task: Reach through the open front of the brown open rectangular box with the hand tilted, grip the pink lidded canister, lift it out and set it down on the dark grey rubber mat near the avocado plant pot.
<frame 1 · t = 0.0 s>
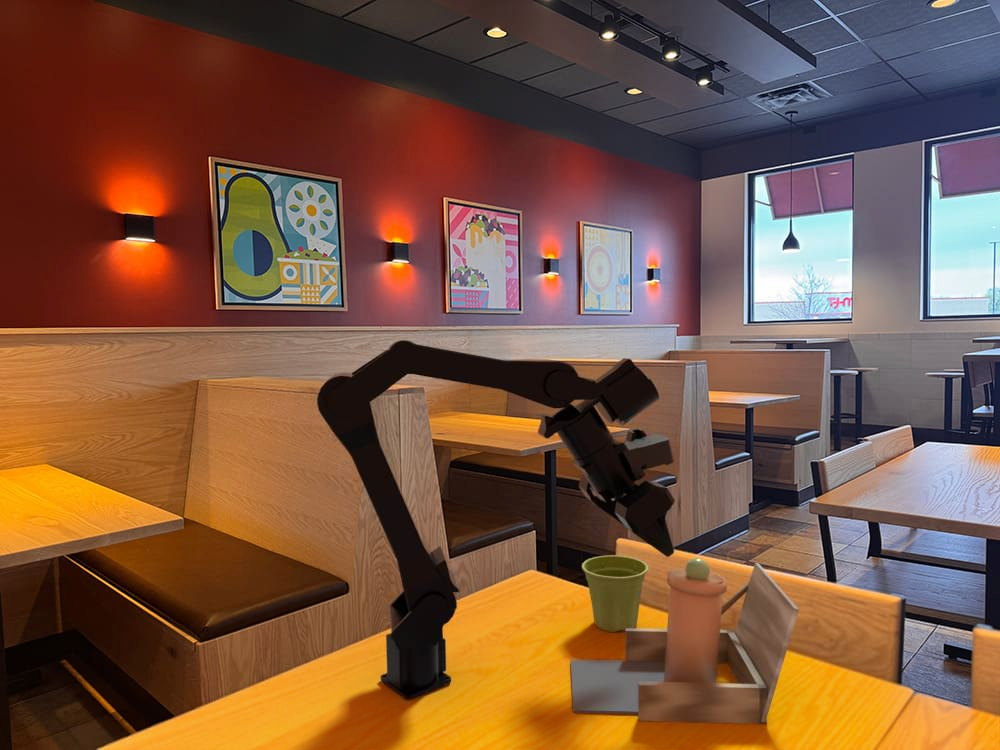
hand: (655, 543, 91), 15 cm above the table, tool tilted 35°, fingers open, 9 cm apart
brown open rectangular box: (689, 688, 83), on the table
plant pot: (615, 625, 102), on the table
mat: (622, 686, 84), on the table
pink lidded canister: (689, 685, 83), on the table, tilted 6°, touching mat
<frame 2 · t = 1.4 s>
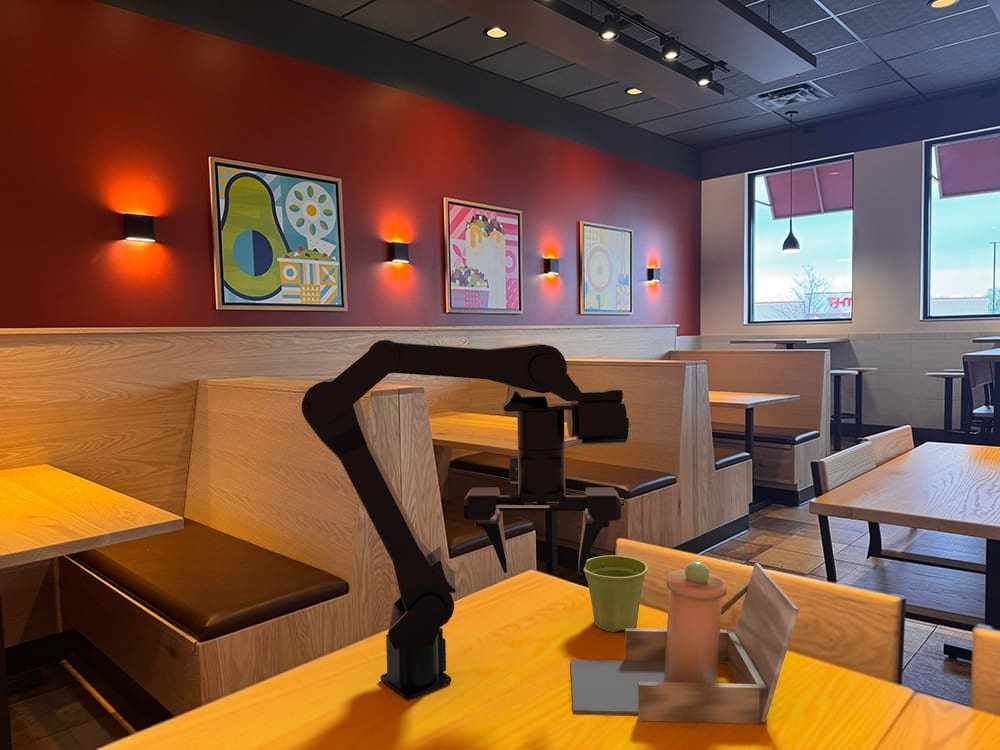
hand: (543, 572, 86), 13 cm above the table, tool pointing down, fingers open, 9 cm apart
nothing on the table moved.
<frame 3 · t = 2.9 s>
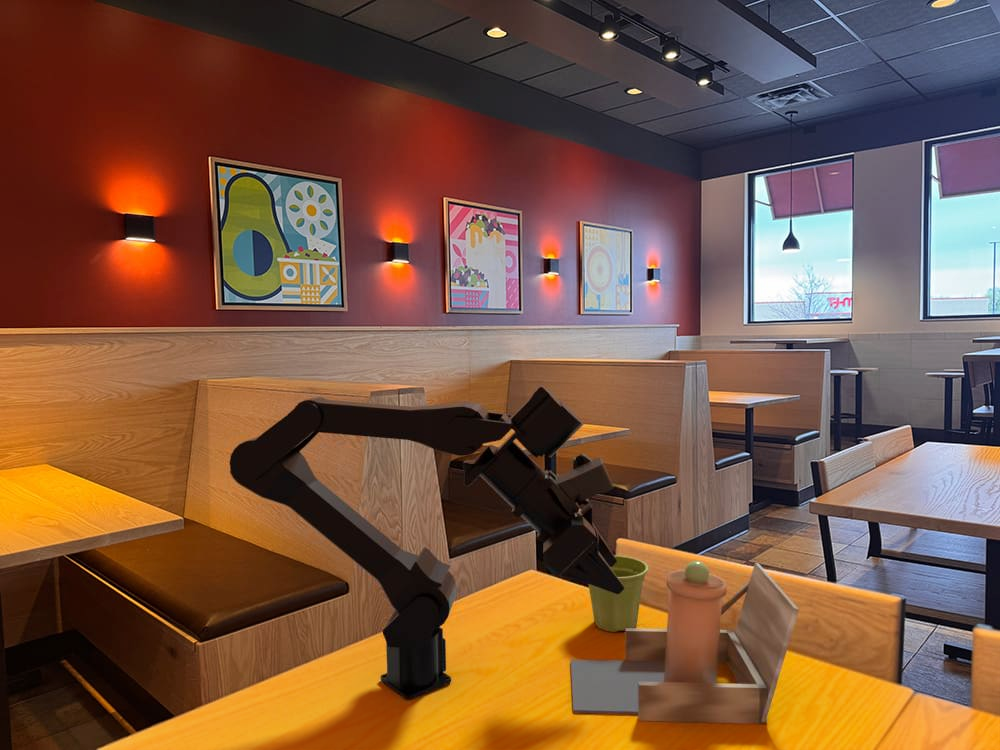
hand: (617, 576, 83), 13 cm above the table, tool tilted 45°, fingers open, 9 cm apart
nothing on the table moved.
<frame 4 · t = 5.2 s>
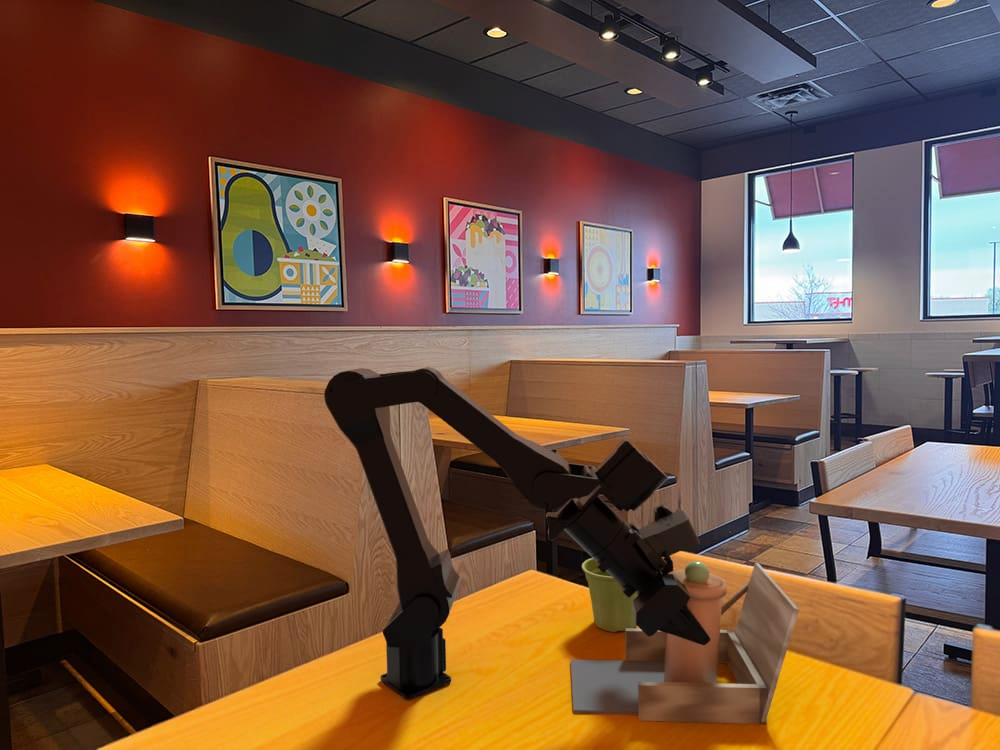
hand: (701, 630, 83), 7 cm above the table, tool tilted 45°, fingers closed on pink lidded canister, 6 cm apart
pink lidded canister: (689, 686, 83), on the table, touching gripper, mat
everything else where it was.
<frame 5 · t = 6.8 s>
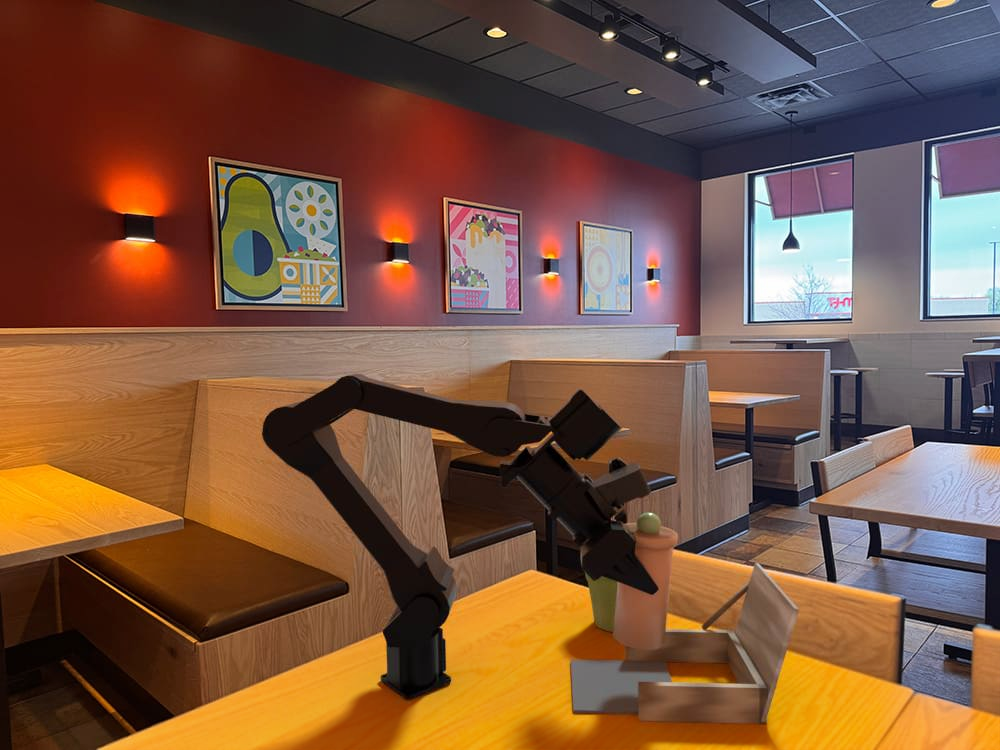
hand: (651, 581, 83), 13 cm above the table, tool tilted 45°, fingers closed on pink lidded canister, 6 cm apart
pink lidded canister: (638, 638, 83), point 6 cm above the table, tilted 5°, touching gripper
everything else where it was.
when the fingers open (8 cm above the table, at t = 8.4 s): pink lidded canister drops 1 cm, resting on mat.
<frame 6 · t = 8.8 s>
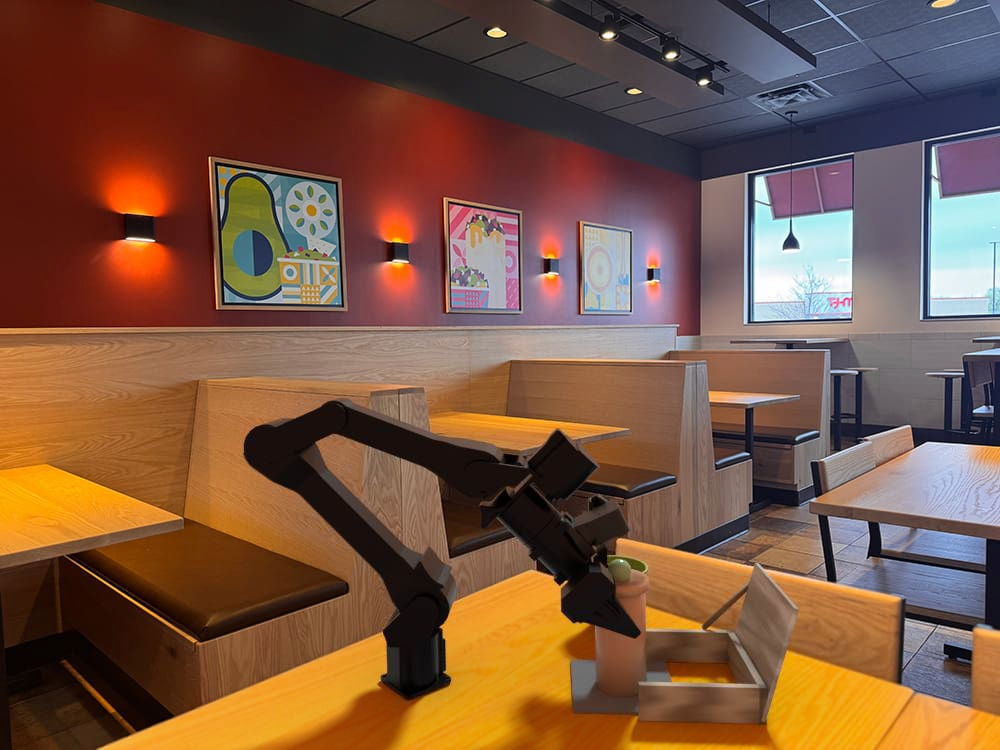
hand: (633, 618, 83), 8 cm above the table, tool tilted 45°, fingers open, 9 cm apart
pink lidded canister: (621, 683, 84), resting on mat
everything else where it was.
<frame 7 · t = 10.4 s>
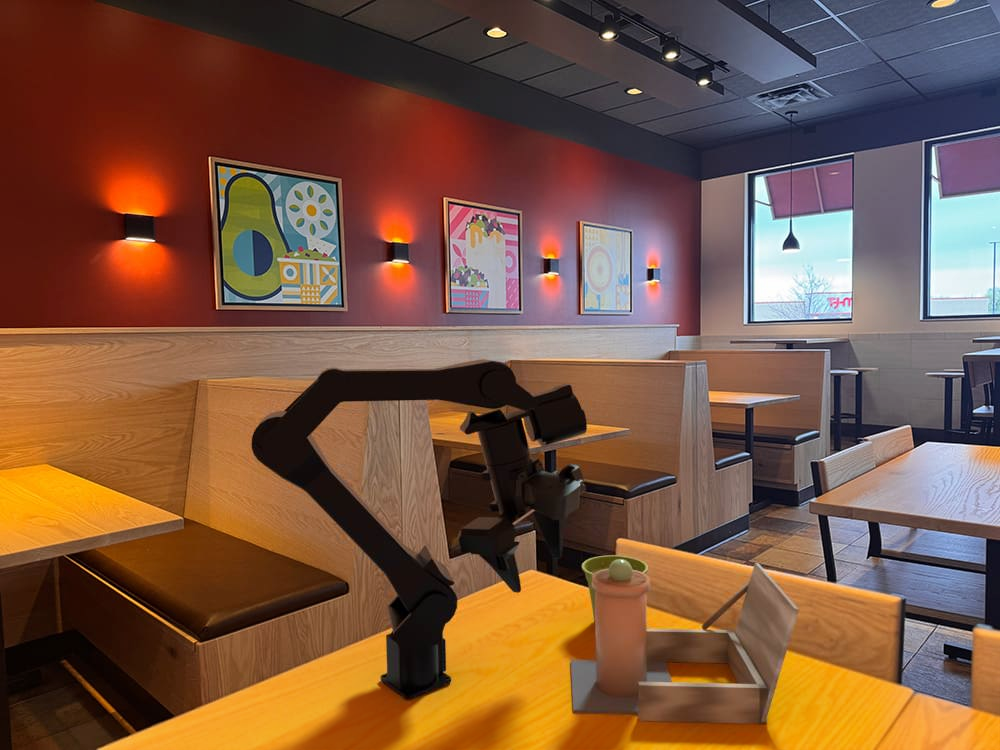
hand: (538, 574, 89), 12 cm above the table, tool pointing down, fingers open, 9 cm apart
nothing on the table moved.
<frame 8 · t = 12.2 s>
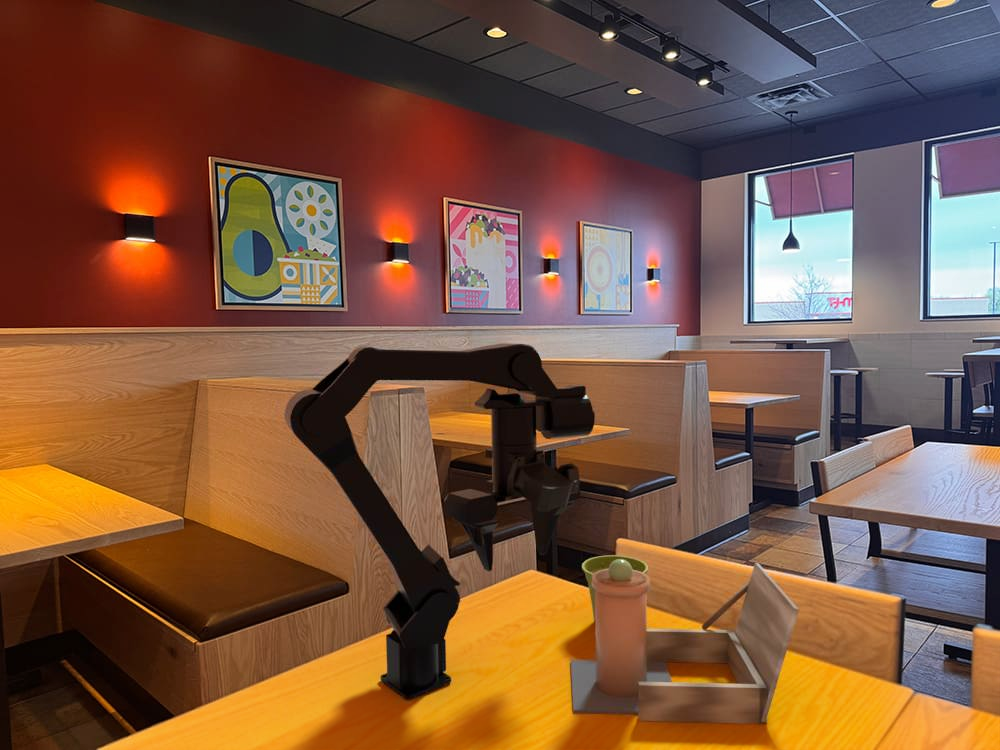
hand: (516, 562, 90), 13 cm above the table, tool pointing down, fingers open, 9 cm apart
nothing on the table moved.
at the end: pink lidded canister inside the target area on the mat (0.1 cm from its centre), point 0.3 cm above the mat's base; pink lidded canister tilted 0° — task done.
